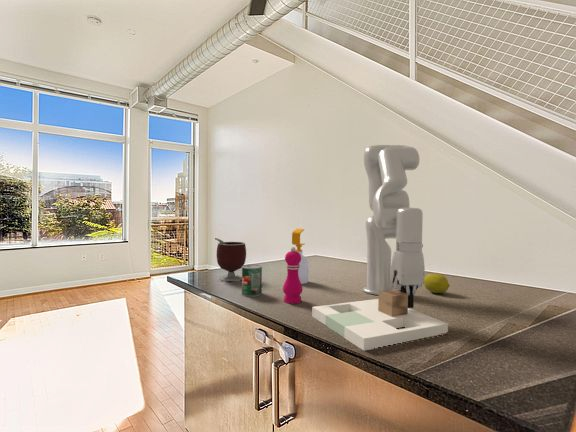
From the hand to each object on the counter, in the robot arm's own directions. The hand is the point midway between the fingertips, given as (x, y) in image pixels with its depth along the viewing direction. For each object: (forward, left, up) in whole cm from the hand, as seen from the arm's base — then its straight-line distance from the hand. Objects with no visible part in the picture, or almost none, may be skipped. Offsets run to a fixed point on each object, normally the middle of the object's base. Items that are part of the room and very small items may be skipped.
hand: (407, 306), depth 102 cm
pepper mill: (+25, -31, -4) cm, 40 cm away
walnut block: (+6, 0, -1) cm, 6 cm away
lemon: (-35, -21, -4) cm, 41 cm away
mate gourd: (+38, -75, -4) cm, 84 cm away
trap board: (+12, 0, -4) cm, 13 cm away
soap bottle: (+10, -58, -4) cm, 59 cm away
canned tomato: (+36, -46, -4) cm, 59 cm away
